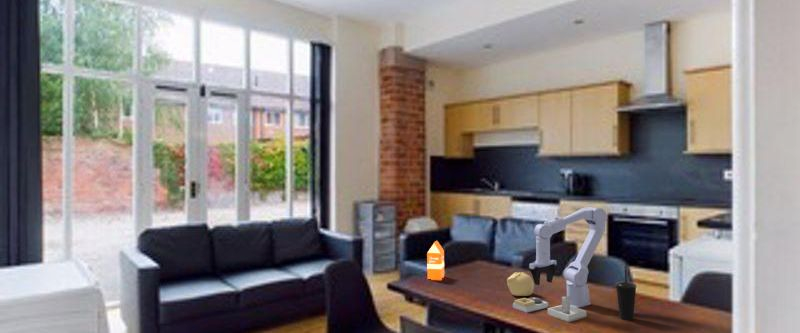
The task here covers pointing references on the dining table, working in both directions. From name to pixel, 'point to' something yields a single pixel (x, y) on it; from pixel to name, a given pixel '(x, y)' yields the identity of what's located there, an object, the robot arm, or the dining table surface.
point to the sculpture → (520, 284)
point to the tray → (574, 314)
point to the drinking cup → (626, 298)
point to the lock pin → (566, 305)
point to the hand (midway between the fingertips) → (543, 283)
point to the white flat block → (529, 304)
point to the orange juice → (435, 262)
